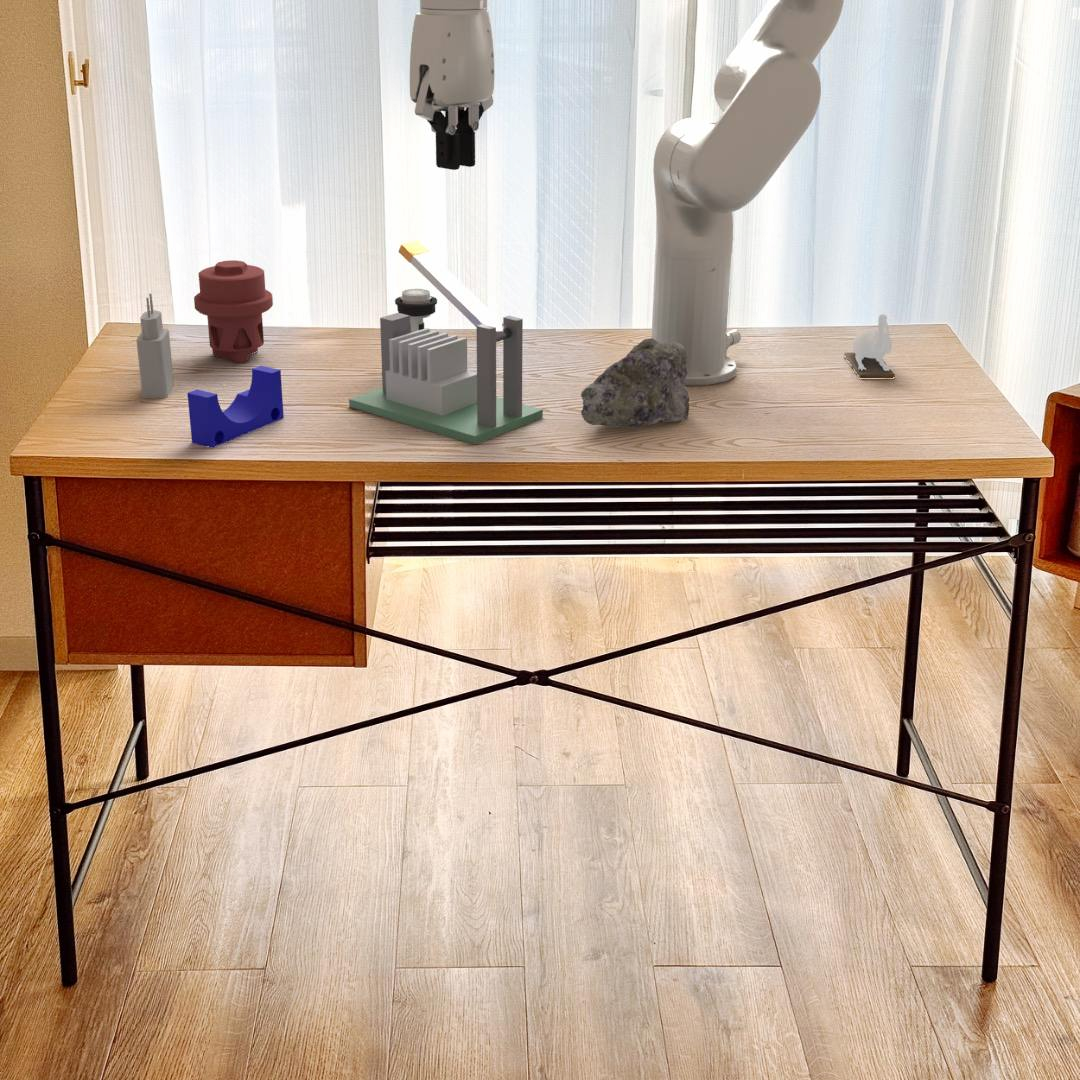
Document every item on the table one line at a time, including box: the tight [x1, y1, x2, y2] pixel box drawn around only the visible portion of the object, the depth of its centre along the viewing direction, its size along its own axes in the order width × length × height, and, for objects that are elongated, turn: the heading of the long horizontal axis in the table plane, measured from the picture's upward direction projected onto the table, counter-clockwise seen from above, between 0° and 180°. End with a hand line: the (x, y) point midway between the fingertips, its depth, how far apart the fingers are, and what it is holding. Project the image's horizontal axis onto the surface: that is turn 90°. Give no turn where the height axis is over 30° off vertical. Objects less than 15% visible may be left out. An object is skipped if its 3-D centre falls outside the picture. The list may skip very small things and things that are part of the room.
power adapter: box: [135, 292, 175, 399], centre depth 177 cm, size 3×5×12 cm, turn 3°
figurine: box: [843, 313, 896, 378], centre depth 188 cm, size 14×4×9 cm, turn 2°
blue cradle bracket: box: [187, 365, 284, 448], centre depth 166 cm, size 12×4×6 cm, turn 148°
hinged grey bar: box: [397, 240, 512, 343], centre depth 166 cm, size 3×17×1 cm
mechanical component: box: [193, 259, 274, 364], centre depth 191 cm, size 12×10×10 cm
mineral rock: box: [580, 337, 690, 429], centre depth 169 cm, size 13×11×10 cm
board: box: [348, 312, 544, 445], centre depth 171 cm, size 12×20×12 cm, turn 51°
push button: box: [394, 288, 438, 333], centre depth 186 cm, size 7×5×10 cm
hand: (455, 165), depth 171 cm, fingers closed
